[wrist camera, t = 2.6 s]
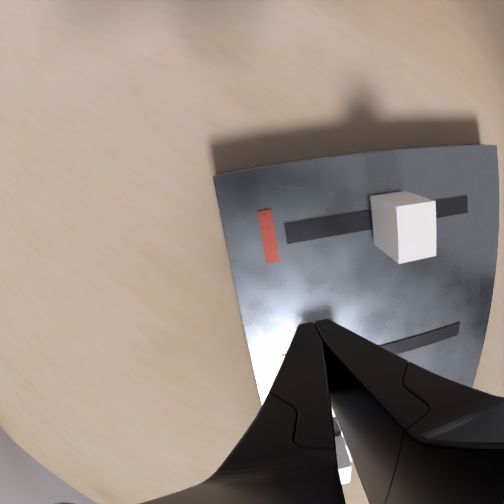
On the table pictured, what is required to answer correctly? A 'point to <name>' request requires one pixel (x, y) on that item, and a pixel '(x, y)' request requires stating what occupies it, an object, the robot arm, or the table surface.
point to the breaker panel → (364, 255)
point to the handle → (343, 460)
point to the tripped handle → (404, 225)
